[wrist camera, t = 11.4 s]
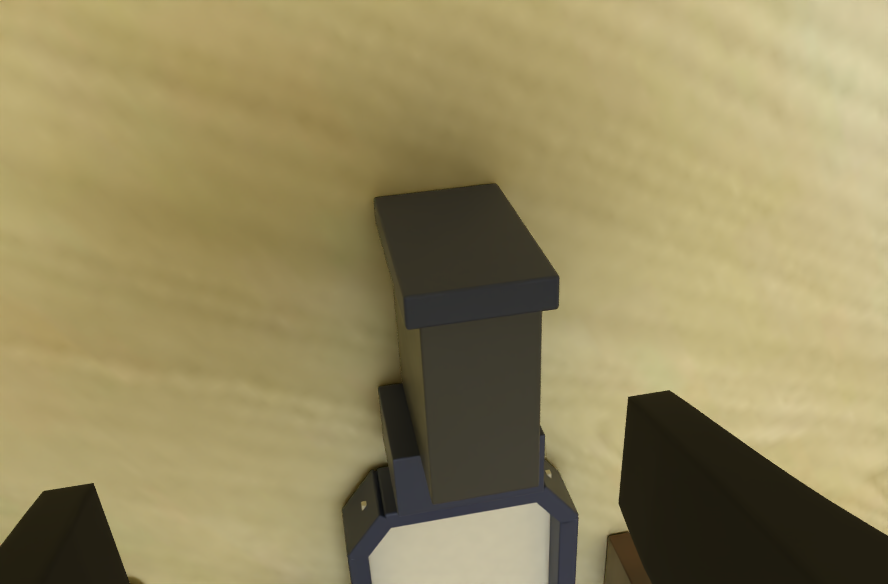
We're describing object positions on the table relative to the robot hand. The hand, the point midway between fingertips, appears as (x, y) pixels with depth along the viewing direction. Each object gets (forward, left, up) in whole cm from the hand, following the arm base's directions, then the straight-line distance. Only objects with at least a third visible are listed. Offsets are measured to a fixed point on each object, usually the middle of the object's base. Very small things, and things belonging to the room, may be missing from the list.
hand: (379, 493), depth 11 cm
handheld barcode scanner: (+7, -6, -10) cm, 14 cm away
